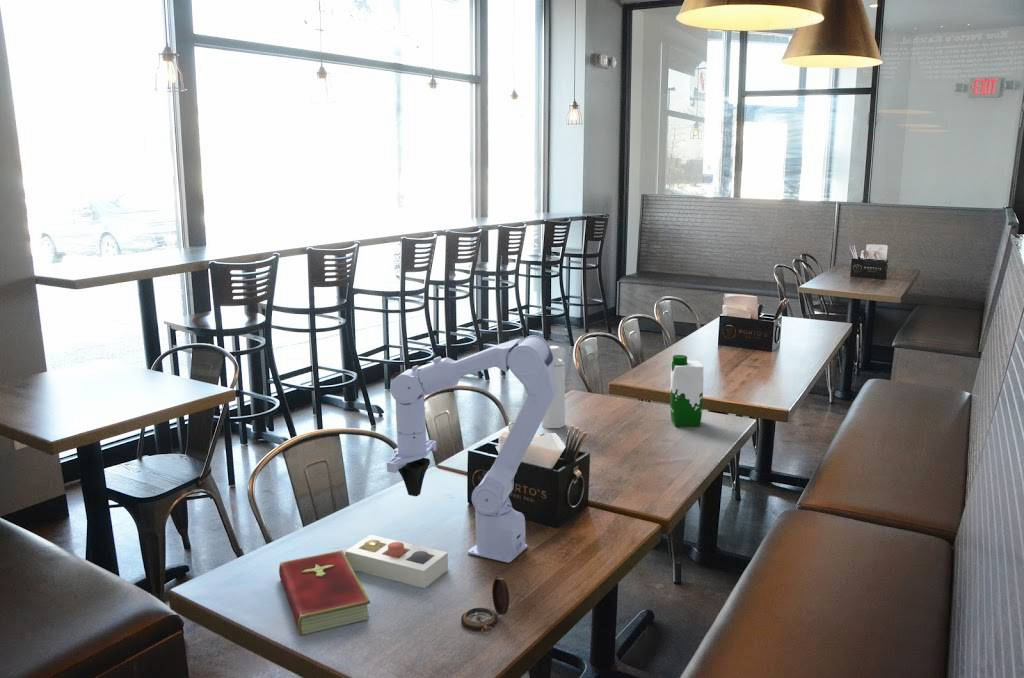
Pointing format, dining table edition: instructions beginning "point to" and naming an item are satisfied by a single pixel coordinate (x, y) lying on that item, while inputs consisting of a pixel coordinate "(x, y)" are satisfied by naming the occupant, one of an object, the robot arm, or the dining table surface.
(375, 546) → the brass plug
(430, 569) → the socket board
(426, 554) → the gray plug
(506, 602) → the compass
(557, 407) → the white bottle
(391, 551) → the red plug
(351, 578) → the hardcover book
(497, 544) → the robot arm
